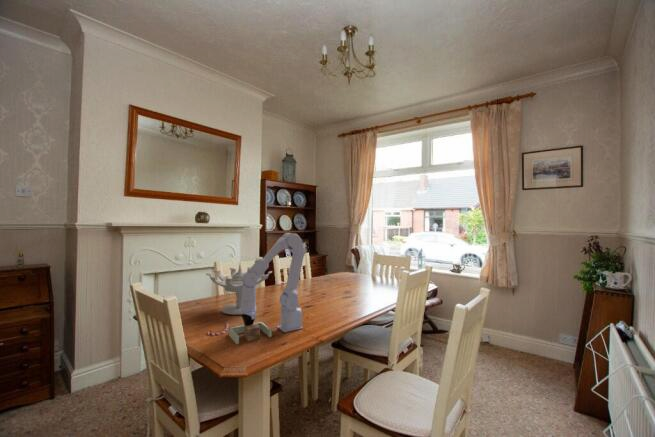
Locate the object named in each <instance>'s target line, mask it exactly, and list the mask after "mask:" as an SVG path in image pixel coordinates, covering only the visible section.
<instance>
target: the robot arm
mask: <svg viewBox="0 0 655 437" xmlns="http://www.w3.org/2000/svg"><path fill="white" fill-rule="evenodd" d="M287 249H289V251H290V252H291V253H292V257H291V260H290V266H289V271H288V276H287V281H286V285H285V287H284V288H283V290H282V294H281V295H280V297H279V302H280V304H281V307H280V325H276V328H278V329H279V330H280V331H282V332H284V333H288V332H292V331H297V330H301V329H303V328H304V327H303V311H302V309H301V308H300V307H298V306H299V298H298V296H299V294H298V293H299V292H298V286H299V280H300V276H301V271H302V267H303V262H304V256H305V248H304V245H303V239H302V238H301V237H300V235H299V234H297V233H295V232H294V233H293V232H292V233H291V232H285V233H283V234H282V236H280V237H279V238H278V239H277V241H276V242H275V243H274V245H272V247H271V248H270V249H269V251H268V252H266V254H265V255H264V256H263V257H261V258H258V259H255V260H254V263H253V265H251V266H250V268H251V269H252V270H251V269H247V270H246V271H245V272H243V273H244V274H243V276H242V278H241V281H242V282H243V290H242V306H241V311H239V313H243V314H241V315H240V316H241V318H242V320H243V325H245V326H246V325H251V324H253V323H255V320H257V318H258V314H257V309H256V302H257V298H256V297H257V296H256V295H257V293H256V292H257V289H256V286H257V285H258V284H257V281H258V278H259V276H261V275H262V274H263V273H264V272H266V271H267V270H268V269H269V267H270V266H269V265H270V264H269V263H270V262H271V261H272V260H273V259H274V258H275V257H276V256H277V255H278V254H279V253H280V252H281V251H282V250H287ZM247 271H248V272H247ZM264 274H265V273H264ZM258 275H259V276H258ZM256 284H257V285H256Z"/></svg>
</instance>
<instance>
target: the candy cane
mask: <svg viewBox="0 0 655 437" xmlns="http://www.w3.org/2000/svg"><path fill="white" fill-rule="evenodd" d="M229 328H230V327H229V322H225V328H224V329H223V330H222V331H221V332H215V333H212V330H211V329H210V330H208V331H207V332H206V335H207V336H209V337H217V336H221V335H224V334H226V333H227V332H228V331H229Z"/></svg>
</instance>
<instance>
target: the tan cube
mask: <svg viewBox="0 0 655 437" xmlns="http://www.w3.org/2000/svg"><path fill="white" fill-rule="evenodd" d="M243 335H244V339H245V340H246V341H248V342H252V341H257V340H260V339H261V330H260V327H259V326H258V325H257V324H251V325H246V326H245V333H243Z"/></svg>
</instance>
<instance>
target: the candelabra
mask: <svg viewBox="0 0 655 437" xmlns="http://www.w3.org/2000/svg"><path fill="white" fill-rule="evenodd" d="M228 269H229V270H230V276H231V277H227V278H226V277H224V276H223V274H222V273H221V270H217V269H214V270H213V272H214V273H216V276H217V278H218V279H216V276H212V273H210V272H209V273H208V272H207V273H205V275H206V276H208V277H209V279H210V280H211V281H212V283H214V284H215V285H218V286H219V287H223V288H224V291H226V292H230V293H235V294H236V302H235V303H230V304H227V305H225V306H223V307H222V308H221V309H220V311H221V312H222V313H223V314H225V315H233V316H237V315H238V316H241V315H242V314H243V313H239V311H241V306H242V290H243V282H242V281H241V278H242V276H243V274H244V273H245V272H243V270H242V265H241V263H239V265H238V270H237V269H236V268H234V267H230V268H228ZM248 269H251V266H250V267H247V270H248ZM247 270H246V272H248V271H247ZM251 270H252V269H251ZM265 272H266V271H265ZM265 272H264V273H263V274H262V275H261V276H259V275H258V276H259V278H258V281H257V284H256V286H257V285H259V284H261V283H263V282H264V281H265V280H267V279H268V278H269V276H270V274H272V273H273V271H272V270H270V271H268V272H267V274H265ZM257 309H258V305H257V306H256V310H257Z"/></svg>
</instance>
